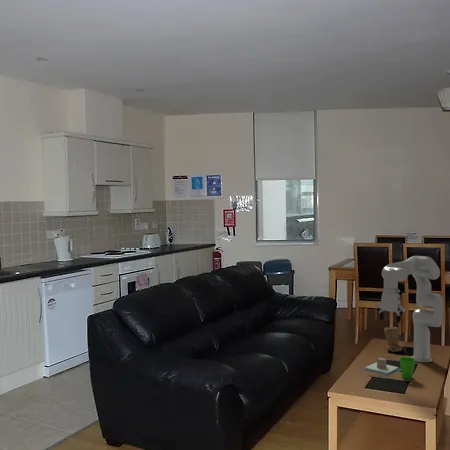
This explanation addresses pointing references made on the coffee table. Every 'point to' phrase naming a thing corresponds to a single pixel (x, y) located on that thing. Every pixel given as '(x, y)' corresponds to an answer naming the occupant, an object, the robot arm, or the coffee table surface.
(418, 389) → the coffee table surface
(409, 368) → the cup
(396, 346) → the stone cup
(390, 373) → the mat
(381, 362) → the lid
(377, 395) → the coffee table surface
